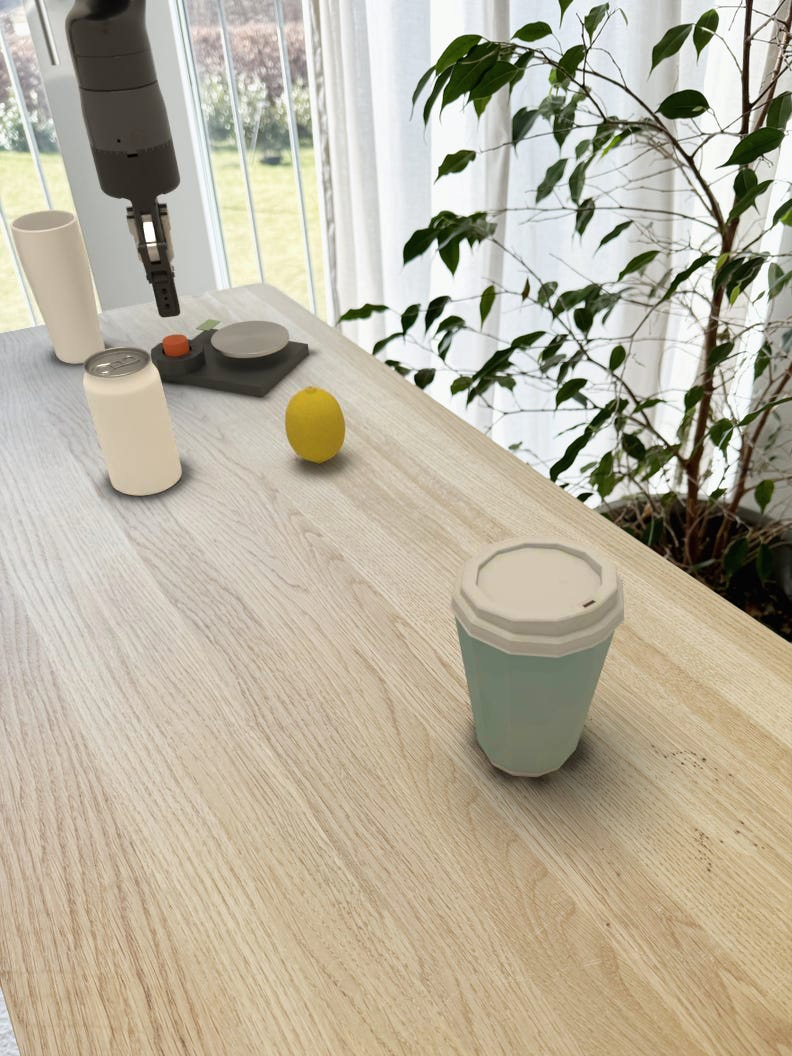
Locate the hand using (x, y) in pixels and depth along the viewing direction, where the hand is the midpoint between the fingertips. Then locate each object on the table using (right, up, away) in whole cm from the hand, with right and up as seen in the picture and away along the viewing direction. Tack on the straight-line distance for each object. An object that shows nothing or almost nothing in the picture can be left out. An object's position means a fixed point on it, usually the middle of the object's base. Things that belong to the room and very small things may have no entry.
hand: (170, 314), depth 106 cm
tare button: (0, -3, +3) cm, 4 cm away
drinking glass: (-13, -2, +9) cm, 16 cm away
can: (+1, -19, -11) cm, 22 cm away
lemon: (+17, -17, -9) cm, 26 cm away
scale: (+5, -4, +6) cm, 9 cm away
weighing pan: (+6, -1, +5) cm, 8 cm away
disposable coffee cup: (+36, -42, -36) cm, 66 cm away
